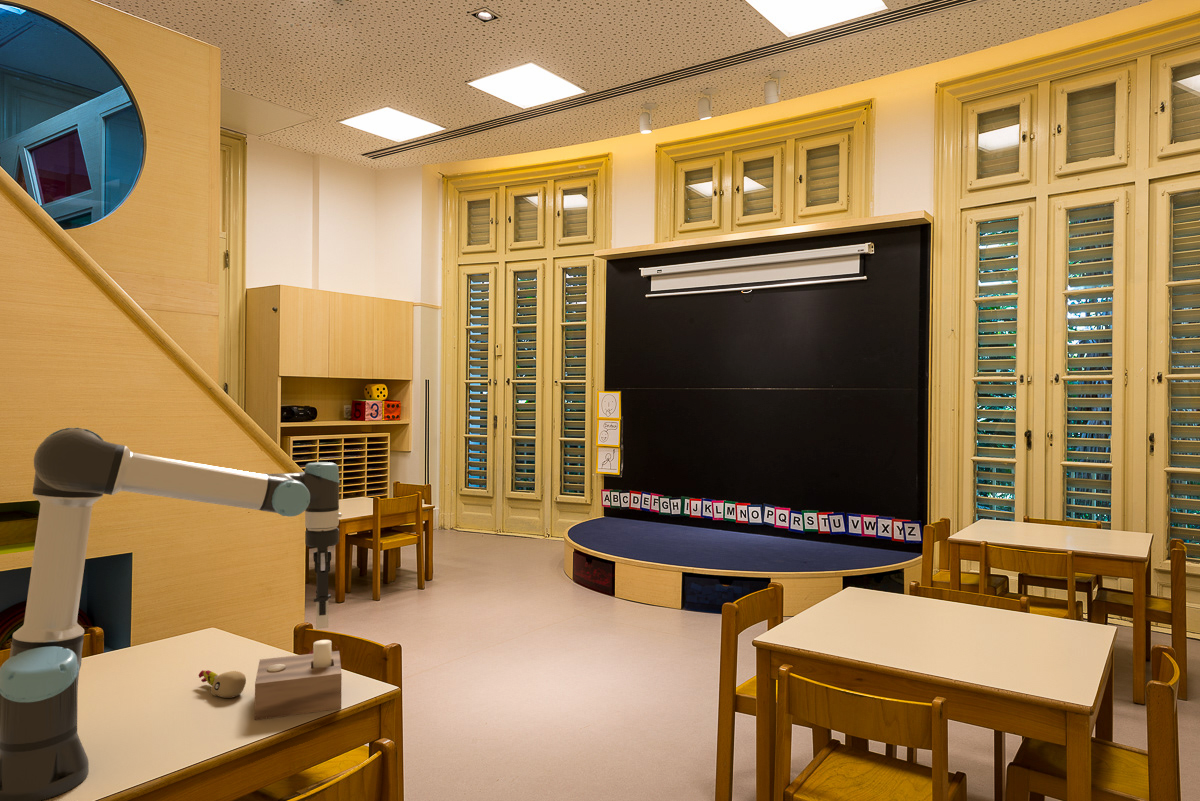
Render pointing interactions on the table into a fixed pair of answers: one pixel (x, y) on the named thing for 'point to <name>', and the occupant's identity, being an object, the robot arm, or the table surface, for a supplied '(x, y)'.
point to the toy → (224, 683)
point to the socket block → (296, 686)
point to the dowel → (322, 653)
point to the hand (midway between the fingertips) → (322, 627)
